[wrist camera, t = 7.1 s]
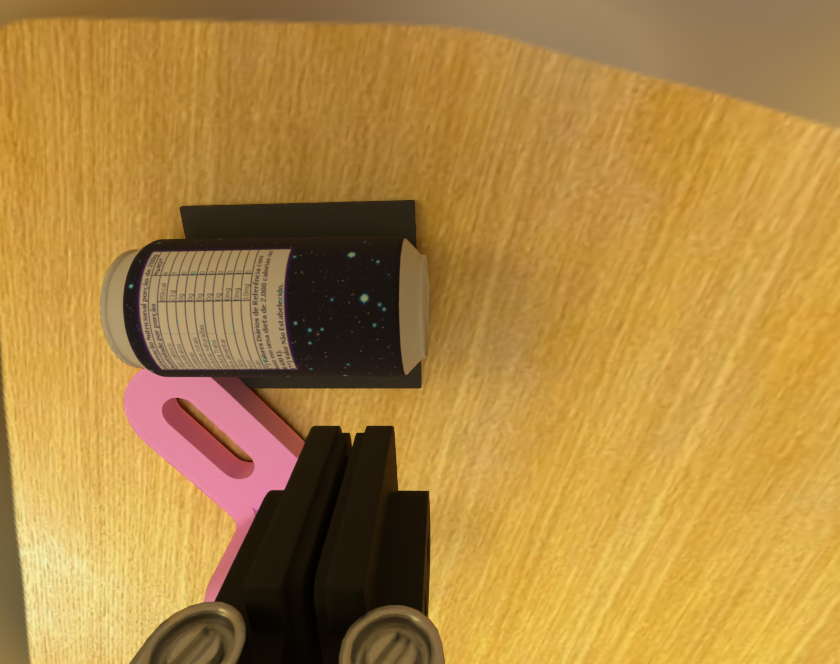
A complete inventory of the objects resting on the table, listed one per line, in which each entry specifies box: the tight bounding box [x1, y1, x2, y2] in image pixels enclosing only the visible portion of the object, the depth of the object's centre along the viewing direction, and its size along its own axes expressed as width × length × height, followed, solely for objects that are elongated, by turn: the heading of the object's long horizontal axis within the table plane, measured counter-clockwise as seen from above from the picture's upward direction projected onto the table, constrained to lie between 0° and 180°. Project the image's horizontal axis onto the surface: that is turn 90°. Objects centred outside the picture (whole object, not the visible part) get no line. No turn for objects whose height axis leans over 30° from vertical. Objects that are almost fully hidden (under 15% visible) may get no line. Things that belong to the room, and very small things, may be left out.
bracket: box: [124, 368, 305, 602], centre depth 24 cm, size 13×6×7 cm, turn 39°
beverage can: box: [100, 235, 429, 378], centre depth 21 cm, size 6×6×12 cm
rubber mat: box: [180, 200, 421, 388], centre depth 24 cm, size 9×10×1 cm
